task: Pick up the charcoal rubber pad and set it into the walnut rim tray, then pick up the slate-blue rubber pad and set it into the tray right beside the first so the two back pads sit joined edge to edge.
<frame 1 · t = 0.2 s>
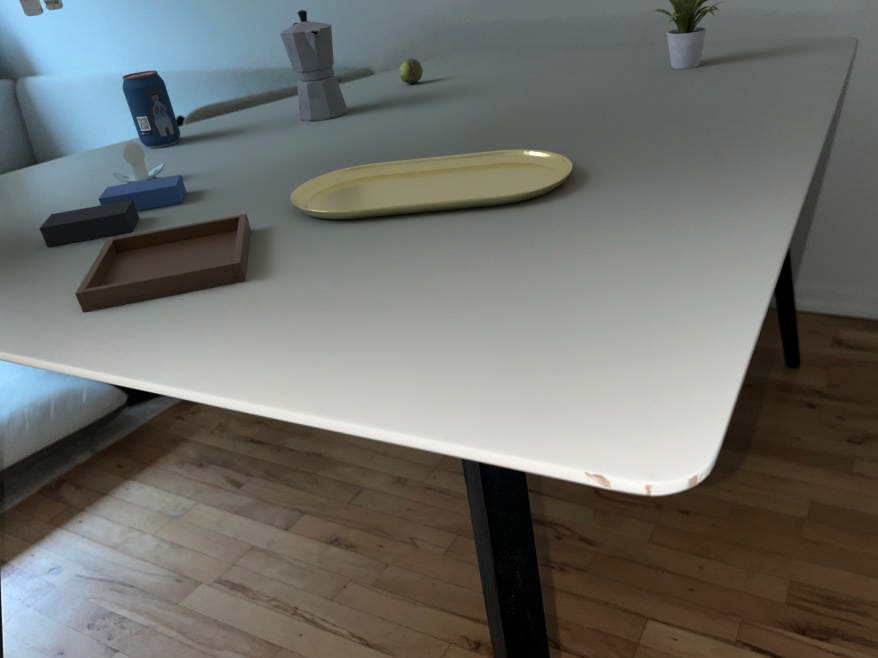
hand: (46, 12, 93), 24 cm above the table, tool pointing down, fingers open, 8 cm apart
house plant: (685, 68, 139), on the table
soda can: (163, 144, 133), on the table
pad blue: (147, 203, 101), on the table
lime: (413, 84, 156), on the table
serving platter: (432, 192, 92), on the table
coffeepot: (322, 115, 140), on the table
tray: (175, 266, 79), on the table
pacifier: (144, 187, 110), on the table
pad charcoal: (95, 232, 93), on the table
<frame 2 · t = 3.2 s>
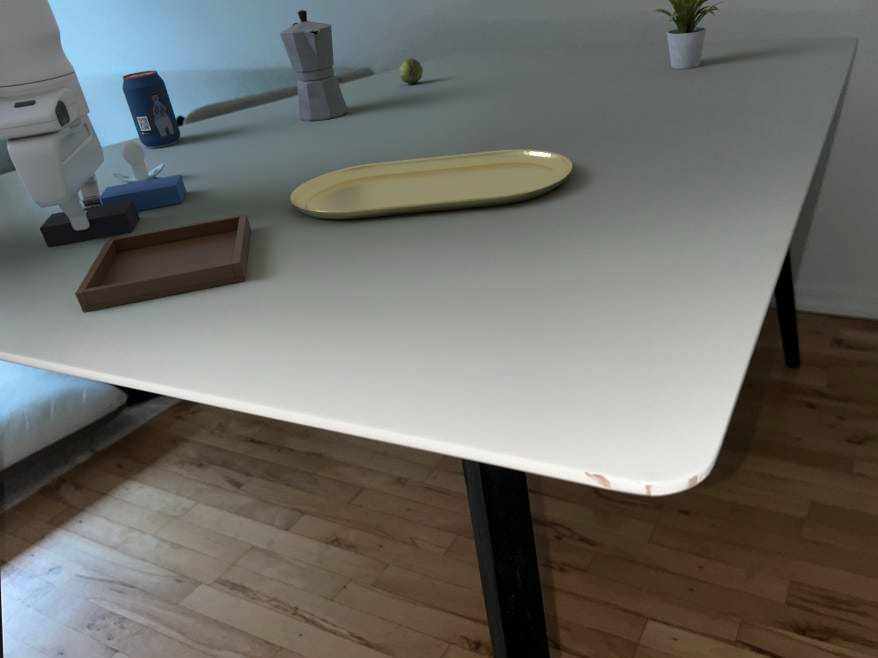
hand: (89, 219, 92), 2 cm above the table, tool pointing down, fingers closed on pad charcoal, 5 cm apart
pad charcoal: (95, 232, 93), on the table, touching gripper
everything else where it was.
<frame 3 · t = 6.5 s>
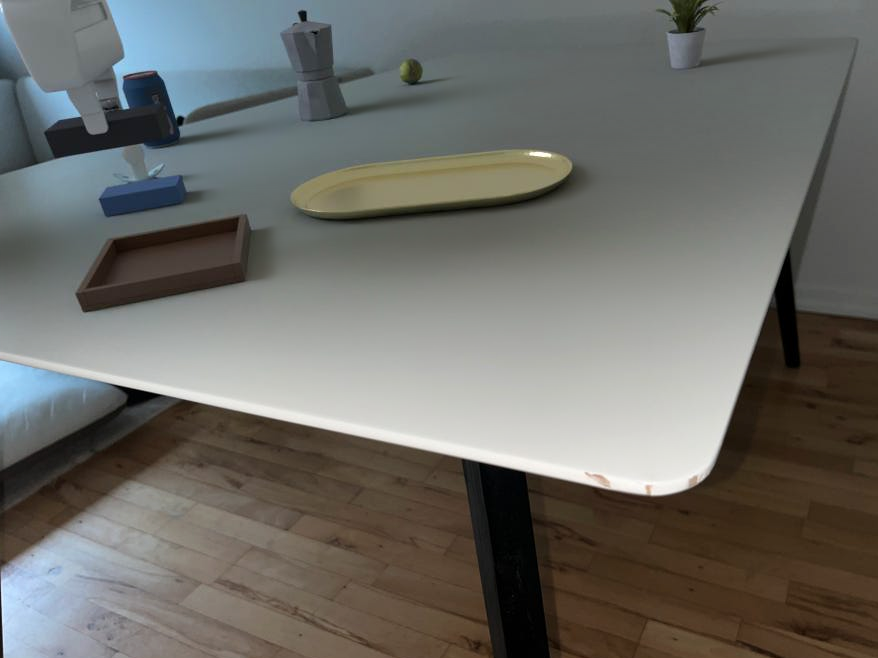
hand: (107, 124, 71), 15 cm above the table, tool pointing down, fingers closed on pad charcoal, 5 cm apart
pad charcoal: (115, 142, 72), point 14 cm above the table, touching gripper
everything else where it was.
when the fingers open (2 cm above the table, at t = 10.1 s): pad charcoal stays where it is, resting on tray.
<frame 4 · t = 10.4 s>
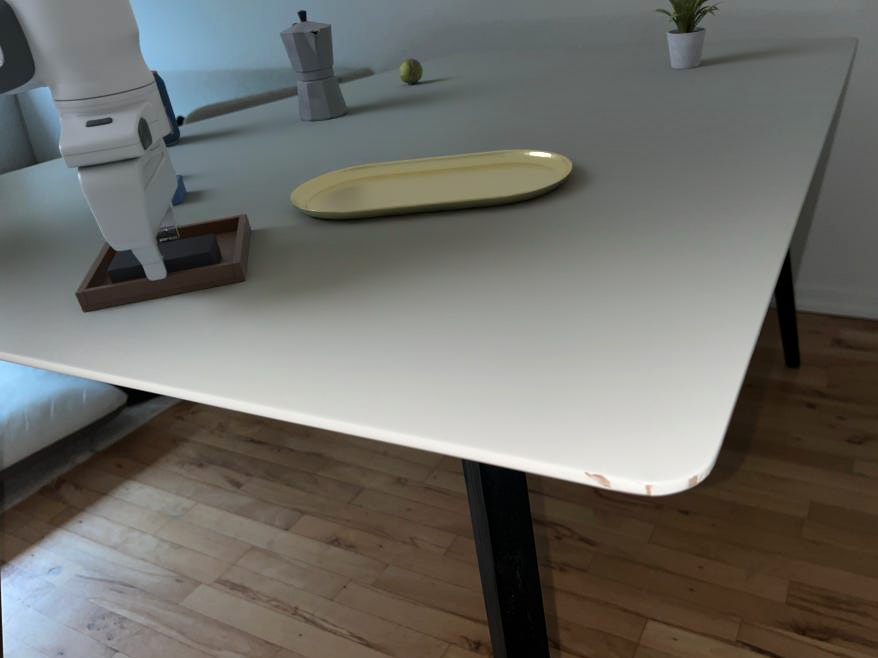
hand: (165, 259, 76), 2 cm above the table, tool pointing down, fingers open, 8 cm apart
pad charcoal: (170, 273, 77), resting on tray
everything else where it was.
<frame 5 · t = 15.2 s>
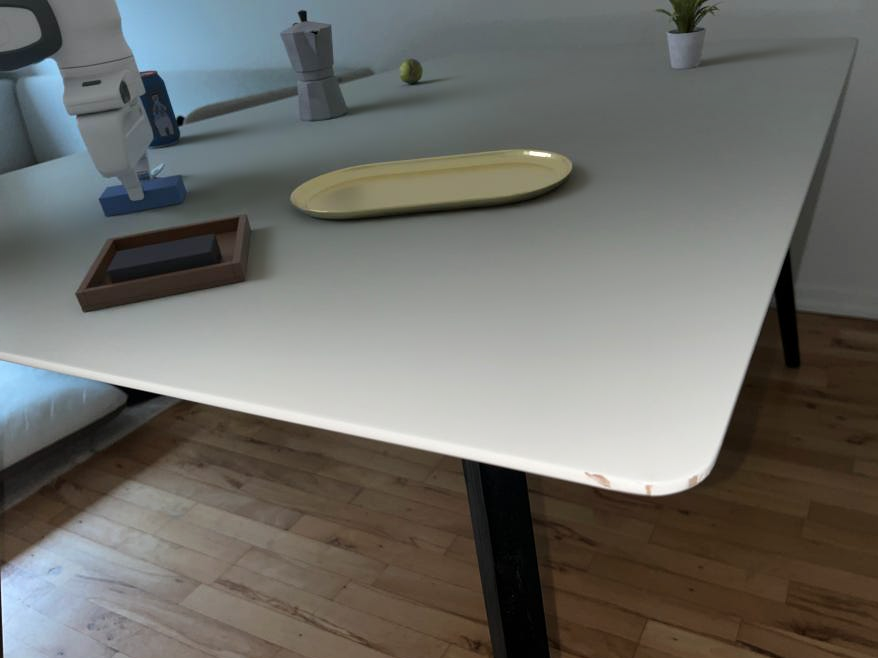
hand: (142, 191, 100), 2 cm above the table, tool pointing down, fingers closed on pad blue, 5 cm apart
pad blue: (147, 203, 101), on the table, touching gripper
everything else where it was.
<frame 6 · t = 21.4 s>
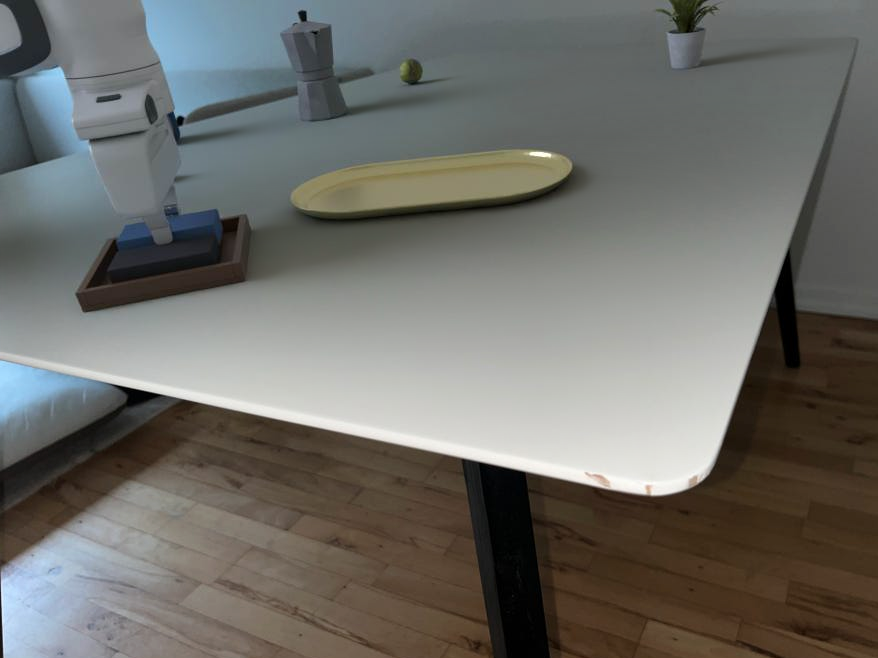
hand: (169, 231, 80), 3 cm above the table, tool pointing down, fingers closed on pad blue, 5 cm apart
pad blue: (175, 246, 81), point 1 cm above the table, touching gripper
pad charcoal: (170, 273, 77), resting on tray, touching gripper
everything else where it was.
when the fingers open (3 cm above the table, at t = 22.7 s): pad blue stays where it is, resting on tray.
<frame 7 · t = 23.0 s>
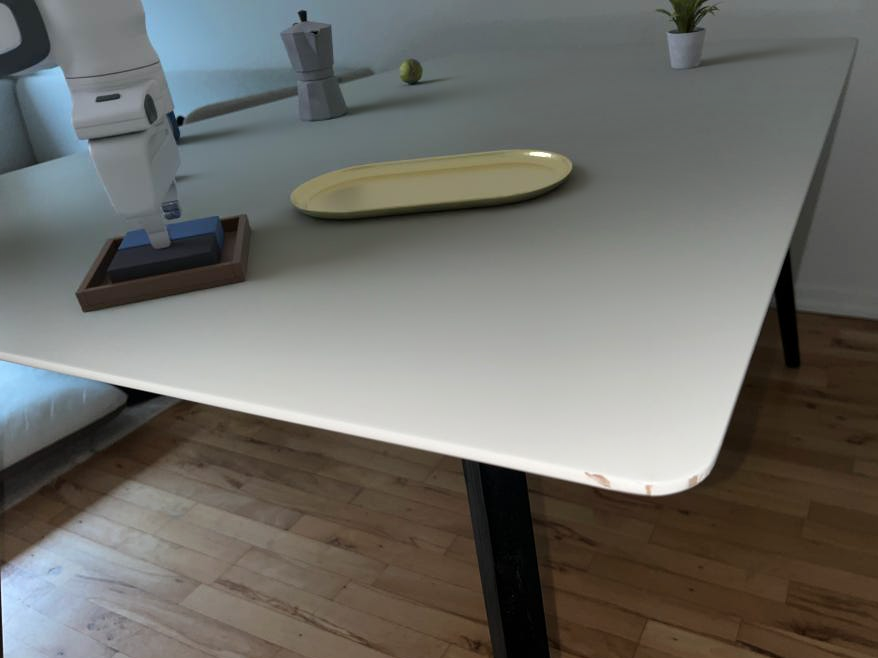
hand: (169, 230, 80), 3 cm above the table, tool pointing down, fingers open, 8 cm apart
pad blue: (177, 252, 82), resting on tray
pad charcoal: (170, 273, 77), resting on tray
everything else where it was.
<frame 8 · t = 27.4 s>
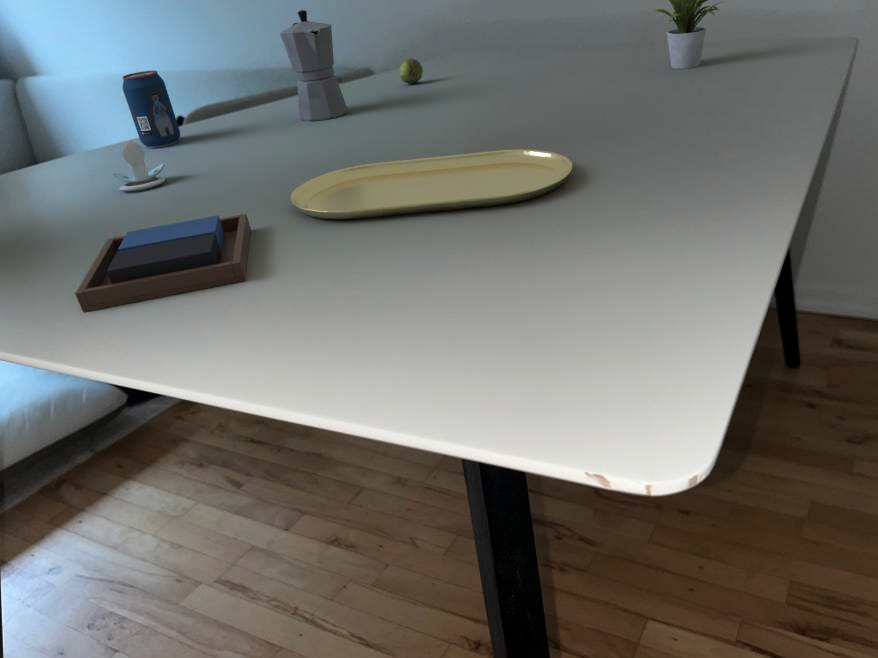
nothing on the table moved.
at the end: pad charcoal 0.1 cm from the target spot in the tray, point 0.5 cm above the tray's base; pad blue 0.2 cm from the target spot in the tray, point 0.5 cm above the tray's base; pad blue 6.2 cm from the pad charcoal (horizontally) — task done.
